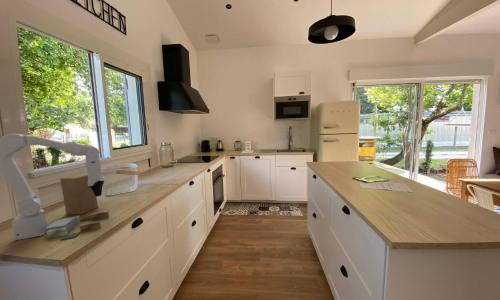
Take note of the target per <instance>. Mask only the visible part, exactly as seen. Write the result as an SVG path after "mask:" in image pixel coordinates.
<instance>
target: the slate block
mask: <svg viewBox="0 0 500 300" xmlns="http://www.w3.org/2000/svg"><path fill="white" fill-rule="evenodd" d="M73 217H74V218H70V217H67V218H68V219H64V218H63V219H55V220H54V222H52V223H51V224H49V225H47V227H46V228H45V232H46V233H45V236H46V238H48V236H47V231H49V230H55V229H60V228H67V233H69V232H70V231H71V230H72V229H73V228H74V227H76V226H77V223H76V220H75V217H76V216H73Z"/></svg>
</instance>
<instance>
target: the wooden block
mask: <svg viewBox="0 0 500 300" xmlns="http://www.w3.org/2000/svg"><path fill="white" fill-rule="evenodd" d="M59 180H60V186H61V193H62V197H63V201H64V207H65V214H66V215H79V216H80V215H83V214H85V213H88V212H91V211H93V210H95V209H96V208H99V205H98V198H97V197H96V196H95V194H94V192H93V190H92V189H91V188H90V187H89V186H88V183H87V182H88V174H87V173H78V174H77V173H76V174H72V175H69V176H65V177H60V178H59Z"/></svg>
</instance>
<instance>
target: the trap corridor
mask: <svg viewBox="0 0 500 300" xmlns="http://www.w3.org/2000/svg"><path fill="white" fill-rule="evenodd" d="M74 217H75V220H76V224H79V223H81V222H86V221H90V220H91V221H92V222H87V223H84V224H83V223H82V224H80V225H79V230H80V231H79V232H73V233H69V232H67V228H60V229H55V230H49V231H47V236H48V237H47V239H49V240H50V239H54V238H59V237H62V238H60V241H66V240H70V239H76V238H77V237H78V236H79V235H80V234H81V233H85V232H90V231H95V230H100V229H101V228H102V226H101V221H100V220H102V219H107V218H108V219H109V217H110V214H109V210H107V211H106V210H105V211H99V212H94V213H90V216H89V215H88V216H84V217H82V218H81V219H80V215H76V216H71V217H64V218H63V219H68V218H74ZM97 220H99V221H97ZM93 221H94V222H93Z"/></svg>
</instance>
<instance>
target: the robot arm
mask: <svg viewBox="0 0 500 300" xmlns="http://www.w3.org/2000/svg"><path fill="white" fill-rule="evenodd" d="M31 146H43V147H49V148H52V149H59V150H62V151H63V153H65V154H69V155H75V156H78V157H83V156H85V157H84V158H85V167H86V174H88V182H87V183H88V186H89V187H90V188H91V189H92V190H93V192H94V194H95V196H96V198H97V197H101V196H102V192H103V185H104V184H105V180H104V179H106V176H104V175H103V173H102V172H103V171H102V165H101V160H100V151H99V149H98V148H97V147H95V146H93V145H89V144H88V143H87V144H82V143H79V142H77V141H75V140H72V141H70V140H69V141H65V142H61V141H57V140H53V139H50V138H46V137H43V136H36V135H30V134H29V135H28V134H21V133H7V134H5V135H3V136H2V137H1V138H0V172H1V174H2V176H3V178H4V179H5V181H6V183H7V185H8V187H9V188H10V189H11V191H12V193H13V195H14V197H15V200H16V203H17V206H18V208H17V212H18V214H19V215H18V216H15V218H13V220H12V222H11V228H12V232H13V237H14V238H13V239H12V240H13V241H19V240H24V239H30V238H34V237H41V236H43V235H46V232H45V228H46V227H48V222H47V219H46V214H45V210H44V209H42V206H43V200H42V199H41V198H40V197H38V196H37V195H36V194H35V192H34V191H33V190H32V189H31V187H30V186H29V184H28V181H27V180H26V178H25V176H24V174H23V173H22V171H21V169H20V168H19V165H18V164H17V162H16V160H15V159H14V158H15V156H16V155H17V153H18V152H19V151H20V150H22V149H23V148H25V147H31Z"/></svg>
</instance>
